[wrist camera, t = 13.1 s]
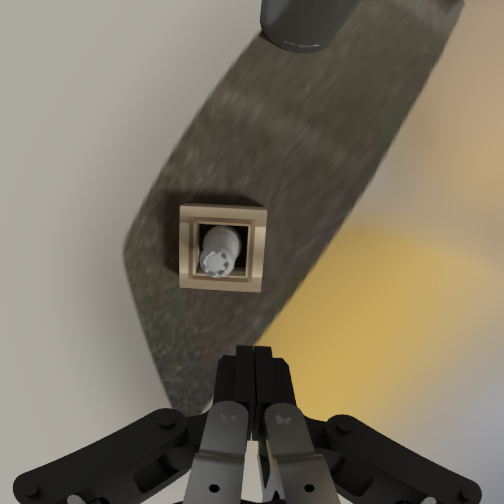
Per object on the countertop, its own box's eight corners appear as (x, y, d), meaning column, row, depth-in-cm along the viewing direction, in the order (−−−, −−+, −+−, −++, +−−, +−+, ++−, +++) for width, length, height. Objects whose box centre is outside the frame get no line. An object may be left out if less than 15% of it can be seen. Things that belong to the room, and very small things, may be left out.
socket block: (185, 202, 33) (179, 206, 30) (265, 207, 33) (267, 210, 30) (184, 277, 35) (179, 287, 32) (259, 282, 35) (260, 292, 32)
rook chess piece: (197, 252, 34) (184, 275, 26) (212, 217, 33) (202, 232, 25) (232, 267, 35) (228, 295, 27) (248, 233, 34) (249, 252, 26)
